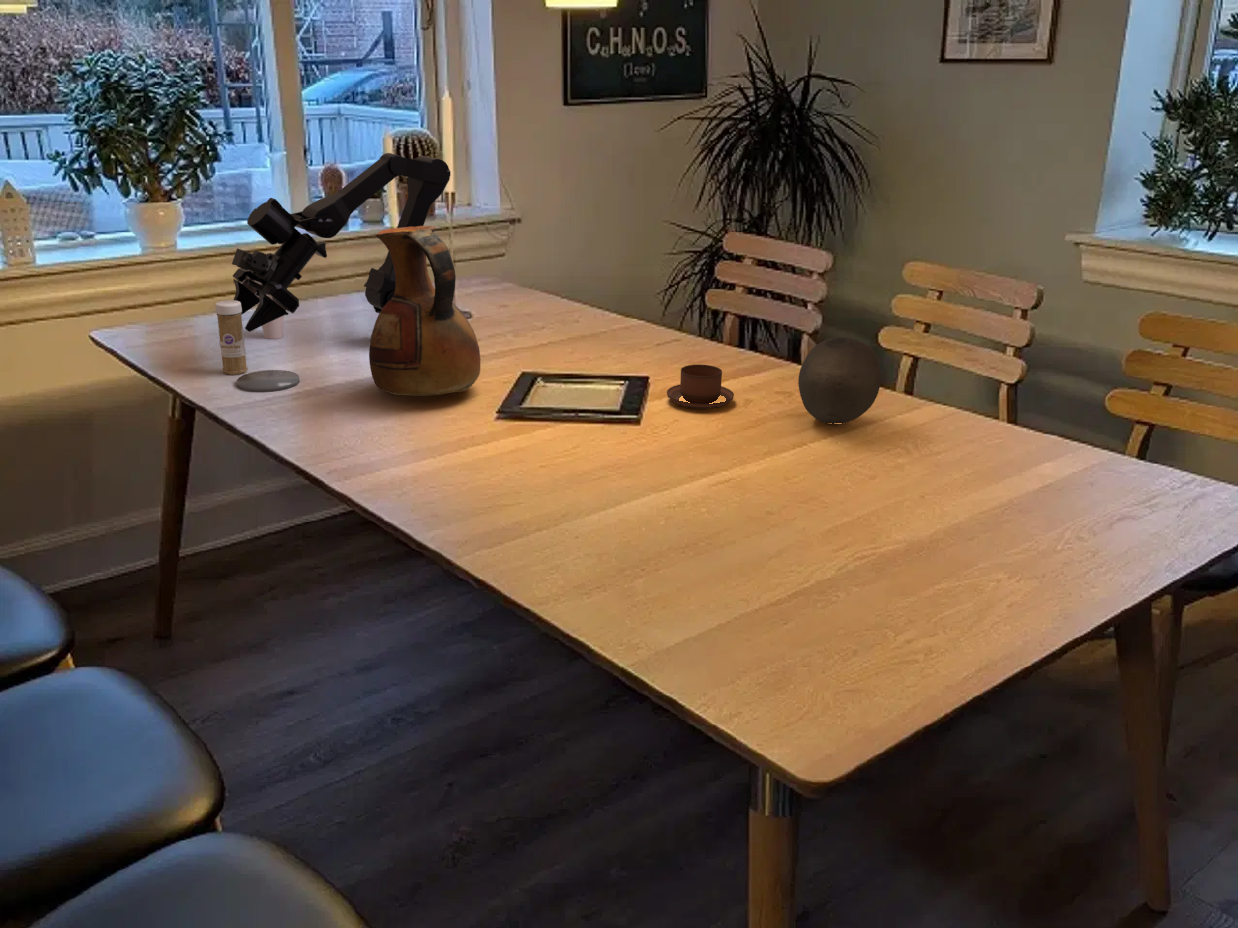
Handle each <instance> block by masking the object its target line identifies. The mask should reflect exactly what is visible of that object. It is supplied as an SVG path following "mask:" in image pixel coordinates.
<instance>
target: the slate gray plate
mask: <svg viewBox="0 0 1238 928" xmlns="http://www.w3.org/2000/svg"><path fill="white" fill-rule="evenodd" d="M299 383H300V375H299V374H298V373H296V372H294V371H291V370H283V369H266V370H265V369H263V370H258V371H253V372H249V373H246V374H245V373H244V374H243V375H242V374H241V375H240V376H239V377H238V378H237V379H236V384H237V387H238V389H240V390H242V391H247V392H254V393H269V392H277V391H279V392H280V391H285V390H289V389H291V388H293V387H296V386H297V385H298V384H299Z"/></svg>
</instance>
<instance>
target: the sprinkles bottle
mask: <svg viewBox="0 0 1238 928" xmlns="http://www.w3.org/2000/svg"><path fill="white" fill-rule="evenodd" d="M214 305H215V313H216V316H217V324H218V326H217V327H218V335H219V349H220V356H221V361H222V373H223V374H225V375H232V376H233V375H234V376H235V375H242V374H245V373H246V372H248V367H247V359H246V358H247V357H246V354H247V353H246V345H245V335H244V328H243V319H242V315H243V314H242V313H241V312H242V307H241V303H240V302H239V301H236V300H234V299H228V300H227V299H226V300H220V301H217V302H215V304H214ZM241 314H242V315H241Z"/></svg>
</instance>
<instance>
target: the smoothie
mask: <svg viewBox="0 0 1238 928" xmlns="http://www.w3.org/2000/svg"><path fill="white" fill-rule="evenodd" d="M267 296H268V295H267ZM257 297H258V296H257ZM258 298H259V297H258ZM259 303H260V302H259ZM259 303H258V304H257V305H256V306H257V307H258V305H259ZM284 318H285V315H284V316H282V317H280V318H277V319H275V320H273V321H271V322H269V323H267V324H265V325H263V326H261V327H262V332H263V336H264V338H265V339H267V340H278V339H282V338H283V337H284Z"/></svg>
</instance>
